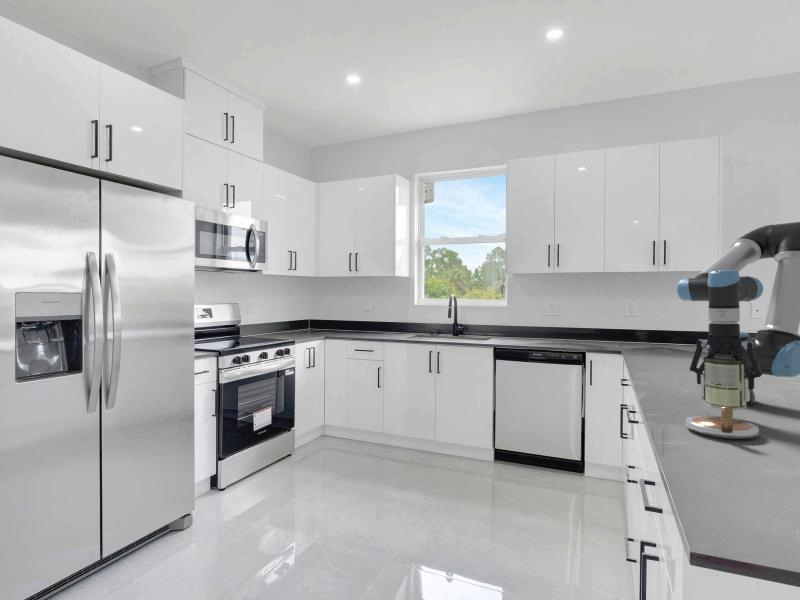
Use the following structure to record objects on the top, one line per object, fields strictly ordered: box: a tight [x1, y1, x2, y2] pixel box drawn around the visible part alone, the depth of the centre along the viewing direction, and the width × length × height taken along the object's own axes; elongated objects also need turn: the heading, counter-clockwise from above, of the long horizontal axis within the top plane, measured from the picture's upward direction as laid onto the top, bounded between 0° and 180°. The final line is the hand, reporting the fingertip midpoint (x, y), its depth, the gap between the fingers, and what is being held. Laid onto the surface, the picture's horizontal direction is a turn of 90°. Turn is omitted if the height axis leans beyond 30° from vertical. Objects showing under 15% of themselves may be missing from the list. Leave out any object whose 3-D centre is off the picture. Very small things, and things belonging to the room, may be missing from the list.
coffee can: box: [703, 355, 748, 411], centre depth 136 cm, size 10×10×14 cm
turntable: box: [685, 406, 760, 439], centre depth 123 cm, size 17×16×8 cm
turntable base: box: [698, 432, 748, 441], centre depth 123 cm, size 12×12×1 cm
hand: (724, 397), depth 136 cm, fingers closed on coffee can, 10 cm apart
